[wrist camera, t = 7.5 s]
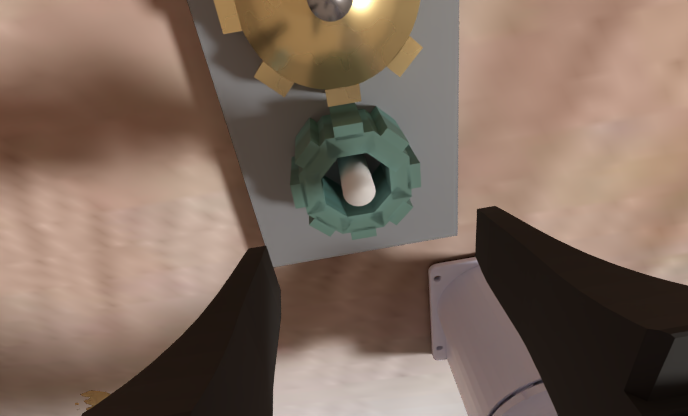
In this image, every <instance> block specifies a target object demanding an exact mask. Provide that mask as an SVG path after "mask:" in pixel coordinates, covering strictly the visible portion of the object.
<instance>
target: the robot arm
mask: <svg viewBox="0 0 688 416" xmlns="http://www.w3.org/2000/svg"><path fill="white" fill-rule="evenodd" d="M428 274H429V296H430V319H431V342H432V355H433V358H434V359H435V360H445V359H447V360H448V363H449V365H450V368H451V371H452V373H453V376H454V379H455V381H456V384H457V387H458V390H459V392H460V395H461V398H462V400H463V403H464V406H465V408H466V411H467V414H468V416H688V286H687V285H683V284H679V283H675V282H671V281H667V280H663V279H660V278H656V277H652V276H649V275H646V274H643V273H639V272H636V271H633V270H630V269H627V268H624V267H621V266H618V265H615V264H612V263H610V262H607V261H604V260H602V259H599V258H597V257H594V256H592V255H589V254H587V253H585V252H582V251H580V250H578V249H575V248H573V247H571V246H569V245H567V244H565V243H563V242H561V241H559V240H557V239H555V238H553V237H551V236H549V235H547V234H545V233H543V232H541V231H539V230H538V229H536V228H534V227H532V226H530V225H529V224H527V223H525V222H523V221H521V220H520V219H518V218H516V217H514V216H513V215H511V214H509V213H507V212H506V211H504V210H502V209H500V208H498V207H496V206H492V207H486V208H481V209H477V226H476V253H475V257H472V258H466V259H460V260H455V261H449V262H443V263H437V264H434V265H432V266H430V268H429V270H428ZM435 276H438V277H437V278H434V277H435ZM280 321H281V290H280V287H279V284H278V281H277V278H276V274H275V271H274V268H273V265H272V262H271V259H270V255H269V252H268V249H267V246H261V247H256V248H250V249H248V250H247V252H246V253H245V255H244V256H243V258H242V259H241V261H240V262H239V264H238V265H237V267H236V268H235V270H234V271H233V273H232V274H231V276H230V277H229V278H228V280H227V281H226V283H225V284H224V285H223V287H222V288H221V290H220V291H219V292H218V294H217V295H216V296H215V298H214V299H213V300H212V302H211V303H210V304H209V305H208V307H207V308H206V309H205V310H204V312H203V313H202V314H201V315H200V316H199V318H198V319H197V320H196V321H195V322H194V323H193V324H192V325H191V326H190V327H189V328H188V329H187V330H186V332H185V333H184V334H183V335H182V336H181V337H180V338H179V339H178V340H176V341H175V342H174V343H173V344H172V345H171V346H170V347H169V348H168V349H167V350H166V351H165V352H163V353H162V354H161V355H160V356H159V357H158V358H157V359H156V360H155V361H153V362H152V363H151V364H150V365H149V366H147V367H146V368H145V369H144V370H143V371H141V372H140V373H139V374H138V375H136V376H135V377H134V378H132V379H131V380H130V381H129V382H127V383H126V384H125V385H123V386H122V387H121V388H119V389H118V390H116V391H115V392H114V393H112V394H111V395H109V396H108V397H106V398H105V399H103V400H102V401H101V402H99V403H98V404H96V405H95V406H93V407H92V408H90V409H89V410H87V411H86V412H84V413H83V414H82V416H273V383H274V372H275V364H276V356H277V347H278V339H279V330H280Z"/></svg>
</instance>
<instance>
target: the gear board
mask: <svg viewBox="0 0 688 416" xmlns="http://www.w3.org/2000/svg"><path fill="white" fill-rule="evenodd" d="M187 2H188V5H189V8H190V11H191V14H192V17H193V20H194V24H195V27H196V30H197V33H198V36H199V39H200V42H201V46H202V49H203V52H204V55H205V58H206V61H207V64H208V68H209V71H210V74H211V77H212V80H213V83H214V86H215V90H216V93H217V96H218V99H219V102H220V105H221V108H222V111H223V115H224V118H225V121H226V124H227V127H228V130H229V133H230V137H231V140H232V143H233V146H234V149H235V152H236V155H237V159H238V162H239V165H240V168H241V171H242V174H243V177H244V180H245V184H246V187H247V190H248V193H249V196H250V199H251V202H252V206H253V209H254V212H255V215H256V218H257V221H258V224H259V228H260V231H261V234H262V237H263V240H264V243H265V246H267V249H268V252H269V255H270V259H271V262H272V265H273V267H279V266H284V265H290V264H296V263H302V262H307V261H313V260H319V259H325V258H330V257H336V256H342V255H347V254H353V253H359V252H365V251H370V250H376V249H382V248H388V247H393V246H399V245H405V244H411V243H416V242H422V241H428V240H434V239H439V238H445V237H451V236H457V232H458V88H459V0H420V6H419V10H418V14H417V18H416V21H415V23H414V26H413V29H412V31H411V33H410V35H409V36H410V37H412V38H413V39H414V40H415V41H416V42H417V43H419V44H420V45H421V46H422V47H423V48H422V50H421V51H420V52H419V53H418V55H417V56H416V57H415V59H414V60H413V61H412V63H411V64H410V65H409V66H408V68H407V69H406V70H405V72H404V73H403V74H402V75H401V77H399V76H398V75H396V74H395V73H394V72H393V71H391V70H390V69H389V68H388V67H385V68H384V69H383V70H382V71H380V72H379V73H378V74H376V75H375V76H373V77H372V78H370V79H368V80H366V81H364V82H362V83H359V86H360V94H361V101H360V102H355V104H356V107H357V109H358V110H359V109H365V110H366V111H367V112H369V113H371V112H372V110H373V109H374V108H375V106H377V107H378V108H380V109H381V110H382V111H384V112H385V113H386V114H388V115H389V116H390V117H392V118H393V119H394V120H395V121H396V122H397V124H398V126H399V127H400V129H401V130H402V132H403V134H404V135H405V137H406V139H407V140H408V142H409V146H410V147H411V149H412V150H413V152H414V154H415V155H416V157H417V159H418V160H419V162H420V171H421V187H419V188H413V189H411V191H412V197H411V198H410V201H411V203H412V205H413V208H412V209H411V210H410V211H409V213H408V214H407V215H406V216H405V217H404V218H403V219H402V220H401V221H400V222H399V223H398V224H397V225H395V224H394V223H392V222H390V221H389V222H388V223H387V224H386V225H385V226H384V227H380V228H376V233H377V236H374V237H368V238H362V239H356V240H352V237H351V233H346V234H342V233H340V232H338V231H335V232H334V233H333V234H332V235H331V237H330V236H328V235H326V234H324V233H322V232H320V231H319V230H317V229H315V228H313V227H311V226H309V215H308V214H307V211H306V207H303V208H298V209H296V208H295V204H294V200H293V196H292V192H291V188H290V176H291V159H292V157H295V139H296V136H297V134H298V133H299V132H300V130H301V129H302V127H303V126H304V124H305V123H306V122H307V120H308V119H309V117H310V118H311V119H313V120H314V121H316V122H318V121H319V120H320V118H321V117H322V116H325V115H330V110H329V107H328V104H327V99H326V93H325V89H315V88H309V87H306V86H302V85H299V84H297V83H294V84H293V85H292V87H291V88H290V90H289V91H288V93H287V95H286V96H285V98H284V97H283V96H282V95H280V94H279V93H277V92H276V91H274V90H273V89H271V88H270V87H268V86H267V85H265V84H264V83H262V82H261V81H259V80H258V79H256V78H255V77H254V76H255V73H256V71H257V69H258V67H259V65H260V63H261V62H262V59H261V58H260V57H259V56H258V54H257V53H256V52H255V50H254V49H253V48H252V46H251V45H250V43H249V41H248V40H247V38H246V36H245V34H244V32H243V31H239V32H233V33H228V34H223V31H222V28H221V24H220V21H219V17H218V14H217V10H216V7H215V3H214V0H187ZM379 165H380V161H378V160H377V159H375V158H374V157H372V156H371V155H369V154H368V153H363V154H357V155H351V156H345V157H340V158H337V159H336V161H335V162H334V163H333V164H332V166H331V167H330V168H329V170H328V171H327V172H326V174H325V176H326V177H328V178H329V179H331V180H333V181H334V182H336V183H338V184H339V185H341V186H342V191H343V196H344V199H345V200H346V201H347V202H348V203H349V204H351V205H353V206H363V205H366V204H368V203H369V202H371V201H372V199H373V198H374V196H375V192H376V190H375V186H374V183H373V180H372V177H371V175H372V174H373V172H374V171H375V170H376V169H377V168H378V166H379Z"/></svg>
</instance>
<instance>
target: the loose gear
mask: <svg viewBox="0 0 688 416" xmlns="http://www.w3.org/2000/svg"><path fill="white" fill-rule="evenodd" d="M329 110H330V115H325V116H322V117H321V118H320V120H319V121H318V122H316V121H314V120H313V119H311V118H310V117H309V119H308V120H307V122H306V123H305V124H304V126H303V127H302V129H301V130H300V132H299V133H298V134H297V136H296V139H295V157H292V159H291V176H290V188H291V192H292V196H293V200H294V204H295V208H296V209H298V208H303V207H306V211H307V214H308V215H309V226H311V227H313V228H315V229H317V230H319V231H320V232H322V233H324V234H326V235H328V236H330V237H331V235H332V234H333V233H334V232H335V231H338V232H340V233H342V234H346V233H351V237H352V240H356V239H362V238H368V237H374V236H377V233H376V228H380V227H384V226H385V225H386V224H387V223H388V222H389V221H390V222H392V223H394V224H395V225H397V224H398V223H399V222H400V221H401V220H402V219H403V218H404V217H405V216H406V215H407V214H408V213H409V211H410V210H411V209H412V208H413V205H412V203H411V201H410V198H411V197H412V191H411V189H413V188H419V187H421V171H420V162H419V160H418V159H417V157H416V155H415V154H414V152H413V150H412V149H411V147H410V146H409V142H408V140H407V139H406V137H405V135H404V134H403V132H402V130H401V129H400V127H399V126H398V124H397V122H396V121H395V120H394V119H393V118H392V117H390V116H389V115H388V114H386V113H385V112H384V111H382V110H381V109H380V108H378V107H377V106H375V108H374V109H373V110H372V112H371V113H369V112H367V111H366V110H365V109H359V110H358V109H357V107H356V104H355V102H354V103H349V104H343V105H337V106H331V107H329ZM363 153H368V154H369V155H371V156H372V157H374V158H375V159H377V160H378V161H380V165H379V166H378V168H377V169H376V170H375V171H374V172H373V174H372V175H371V177H372V180H373V183H374V186H375V190H376V192H375V196H374V198H373V199H372V201H371V202H369V203H368V204H366V205H363V206H353V205H351V204H349V203H348V202H347V201H346V200H345V199H344V196H343V191H342V186H341V185H339V184H338V183H336V182H334V181H333V180H331V179H329V178H328V177H326V176H325V174H326V172H327V171H328V170H329V168H330V167H331V166H332V164H333V163H334V162H335V161H336V159H337V158H340V157H345V156H351V155H357V154H363Z"/></svg>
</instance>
